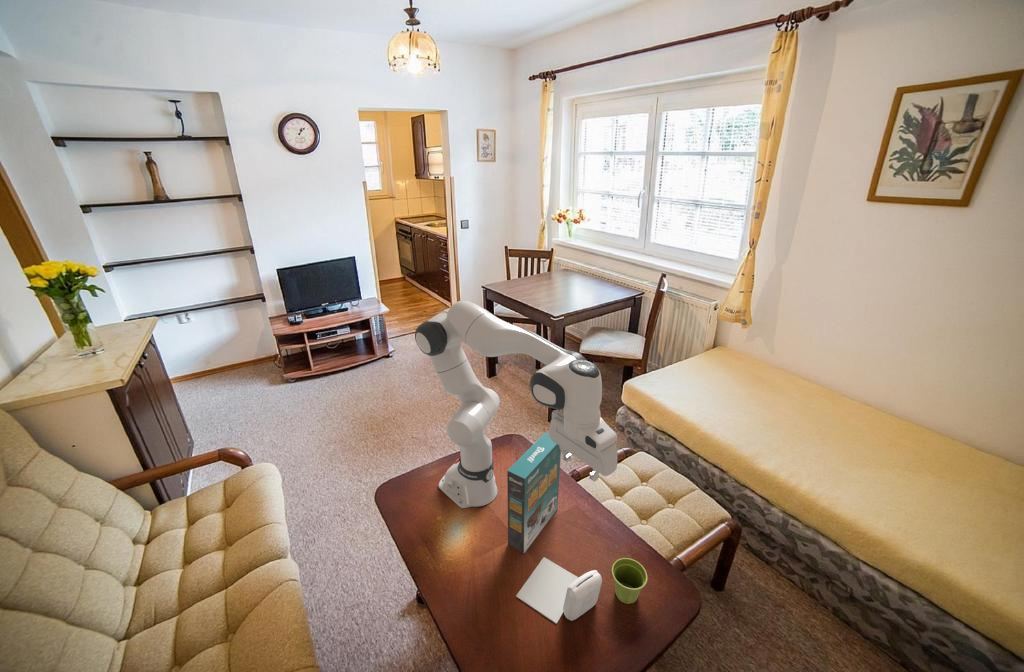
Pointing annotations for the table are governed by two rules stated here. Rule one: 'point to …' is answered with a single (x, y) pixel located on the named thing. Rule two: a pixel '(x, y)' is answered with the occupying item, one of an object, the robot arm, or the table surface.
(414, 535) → the table surface
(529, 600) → the mat
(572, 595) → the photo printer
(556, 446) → the cake mix box
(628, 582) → the plant pot
